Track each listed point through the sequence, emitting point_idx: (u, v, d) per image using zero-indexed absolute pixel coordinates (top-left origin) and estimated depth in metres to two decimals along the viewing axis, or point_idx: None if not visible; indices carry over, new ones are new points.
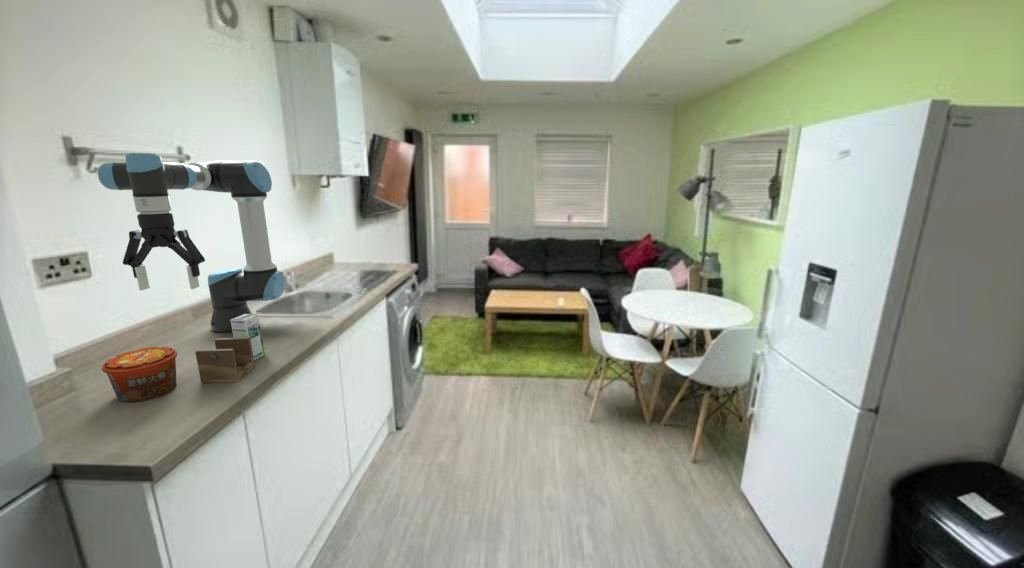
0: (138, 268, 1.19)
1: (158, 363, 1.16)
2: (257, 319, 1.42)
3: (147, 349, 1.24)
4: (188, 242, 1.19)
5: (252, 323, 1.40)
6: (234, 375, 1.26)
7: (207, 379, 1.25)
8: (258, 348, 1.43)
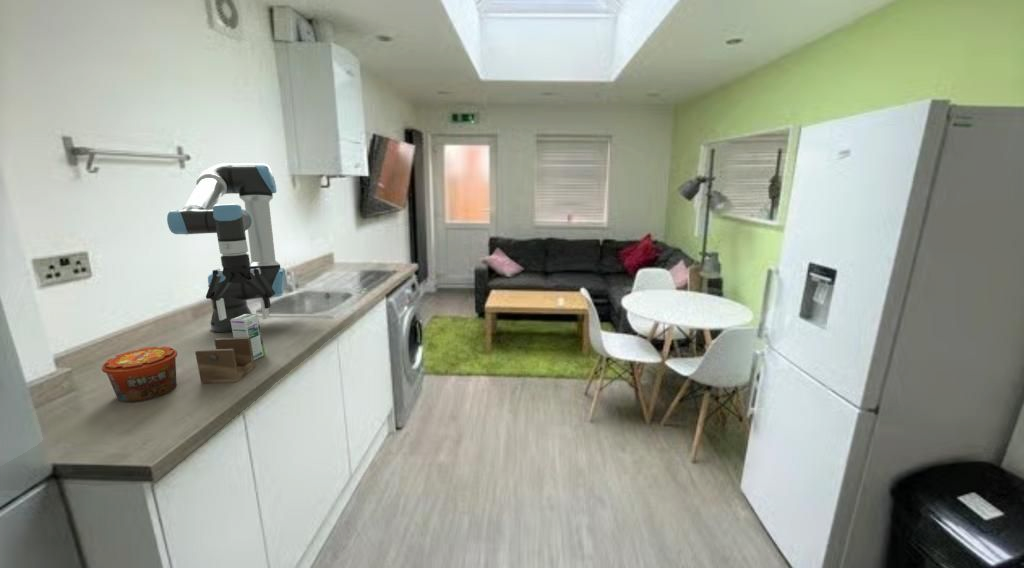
0: (219, 301, 1.37)
1: (158, 363, 1.16)
2: (257, 319, 1.42)
3: (147, 349, 1.24)
4: (262, 279, 1.37)
5: (252, 323, 1.40)
6: (234, 375, 1.26)
7: (207, 379, 1.25)
8: (258, 348, 1.43)
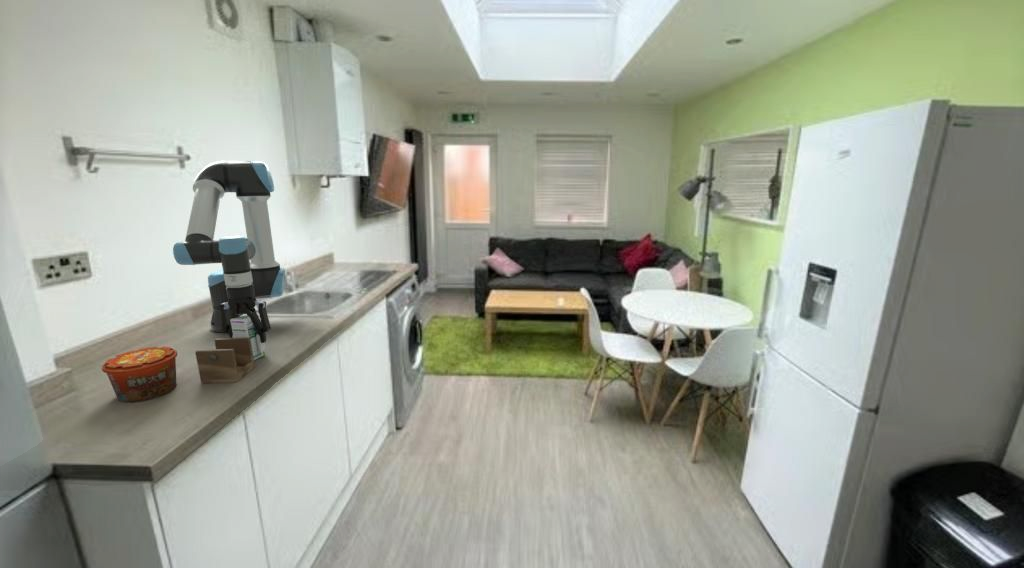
0: None
1: (158, 363, 1.16)
2: None
3: (147, 349, 1.24)
4: (264, 313, 1.40)
5: (252, 323, 1.40)
6: (234, 375, 1.26)
7: (207, 379, 1.25)
8: None
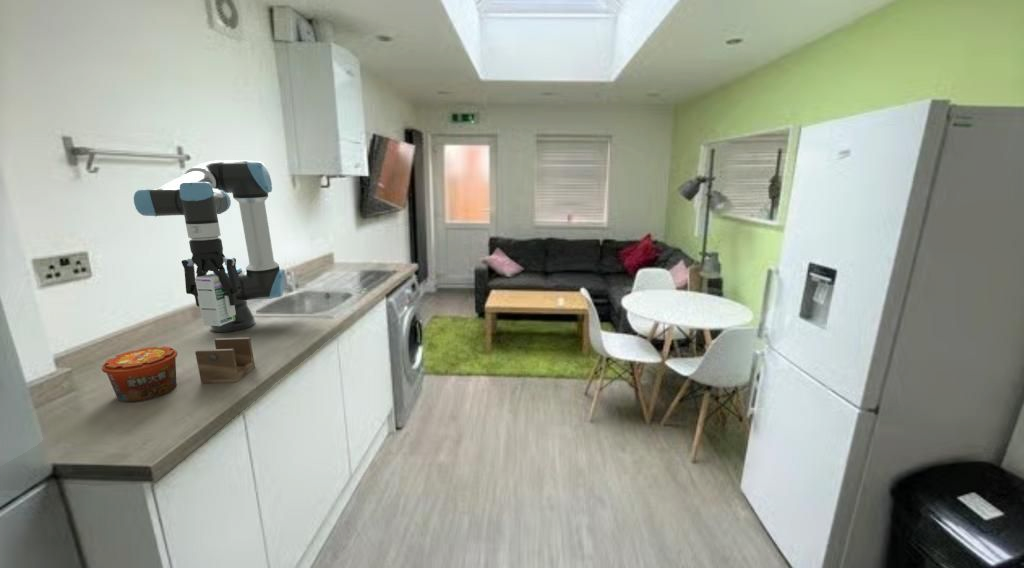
0: None
1: (158, 363, 1.16)
2: None
3: (147, 349, 1.24)
4: (233, 272, 1.23)
5: (220, 283, 1.24)
6: (234, 375, 1.26)
7: (207, 379, 1.25)
8: None
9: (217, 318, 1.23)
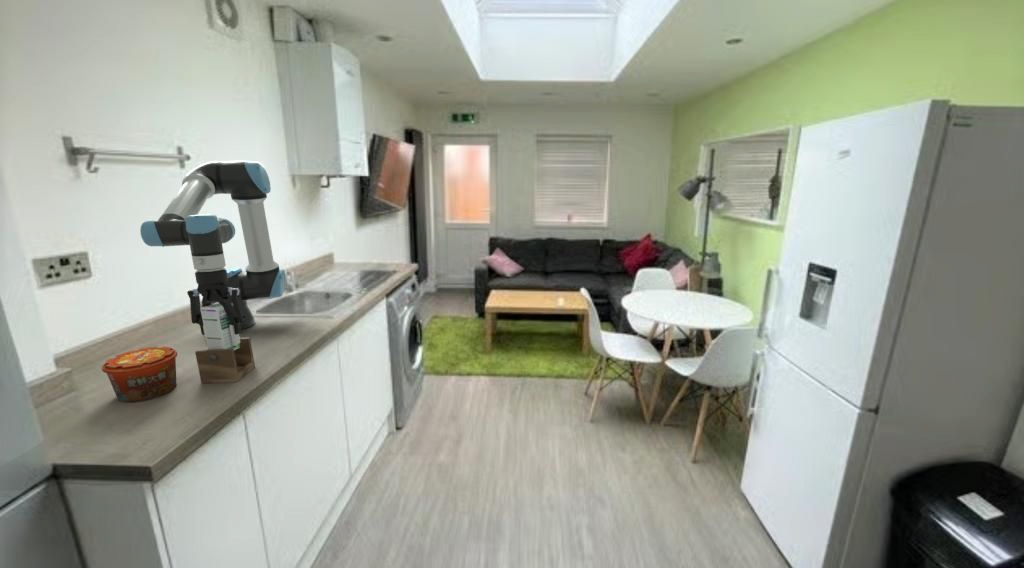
0: None
1: (158, 363, 1.16)
2: None
3: (147, 349, 1.24)
4: (238, 301, 1.25)
5: (225, 312, 1.26)
6: (234, 375, 1.26)
7: (207, 379, 1.25)
8: None
9: (222, 347, 1.25)
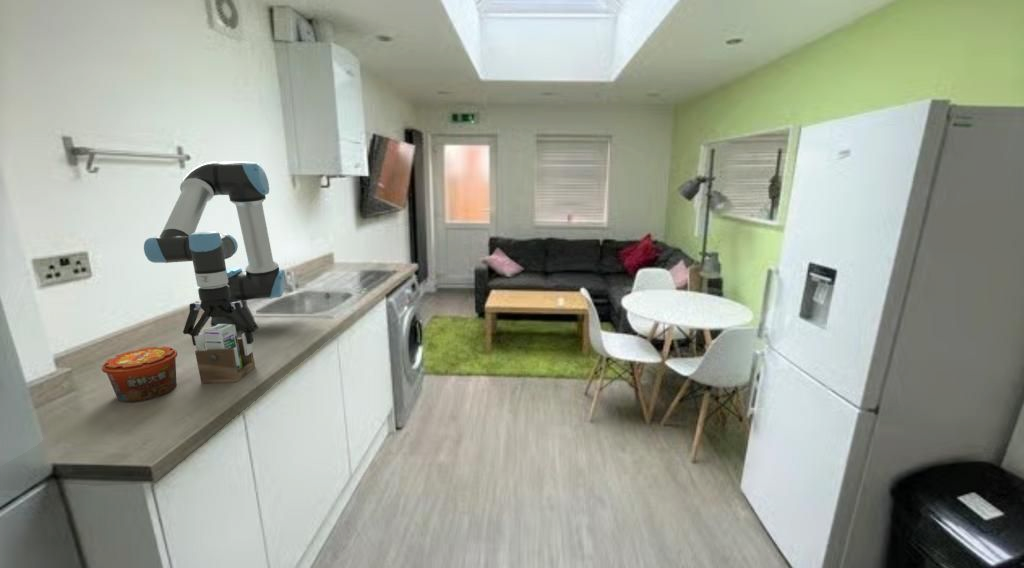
0: (197, 337, 1.27)
1: (158, 363, 1.16)
2: (234, 329, 1.29)
3: (147, 349, 1.24)
4: (244, 313, 1.26)
5: (228, 334, 1.27)
6: (234, 375, 1.26)
7: (207, 379, 1.25)
8: None
9: None
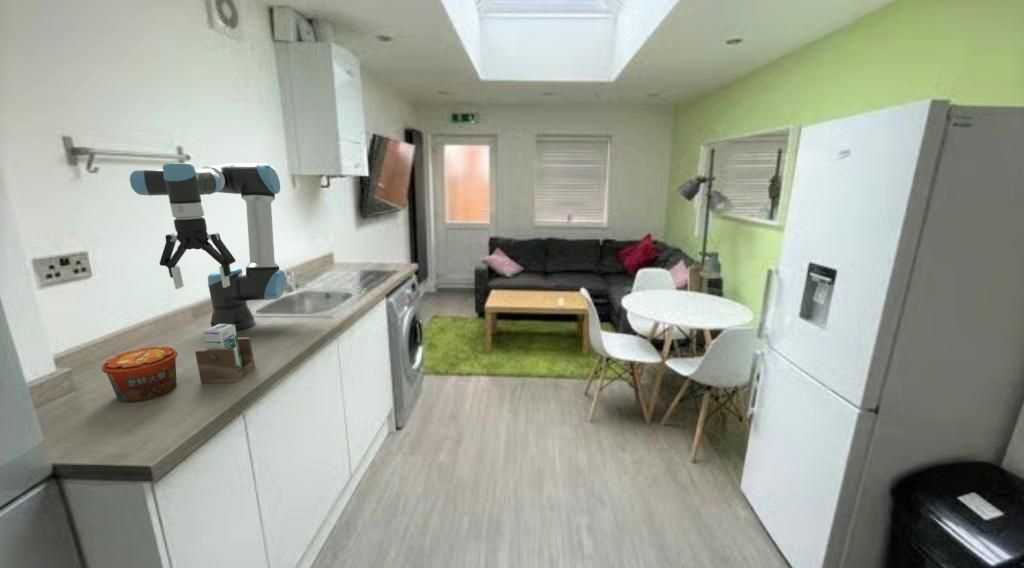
0: (174, 268, 1.29)
1: (158, 363, 1.16)
2: (234, 329, 1.29)
3: (147, 349, 1.24)
4: (221, 245, 1.29)
5: (228, 334, 1.27)
6: (234, 375, 1.26)
7: (207, 379, 1.25)
8: None
9: None
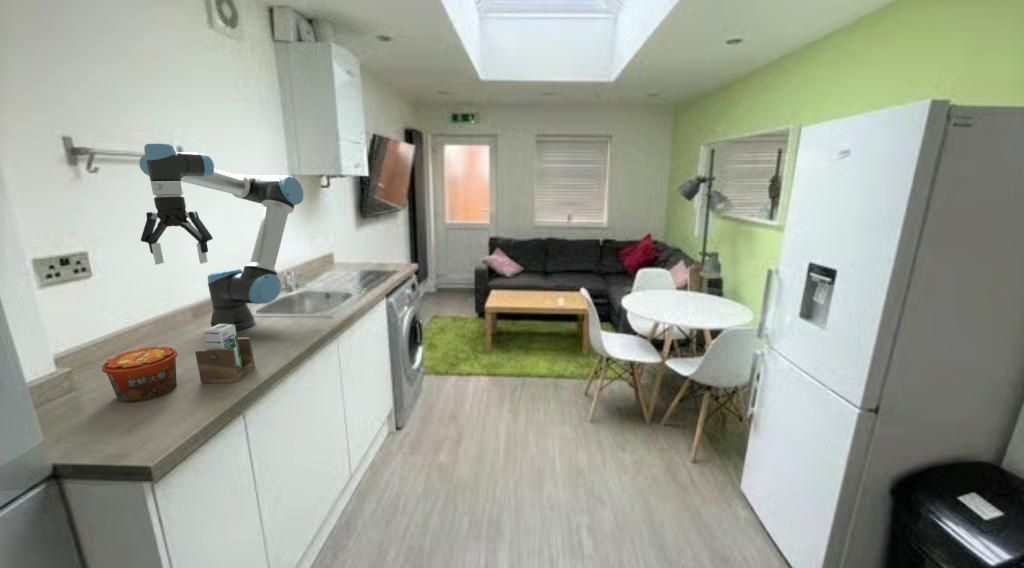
0: (154, 245, 1.36)
1: (158, 363, 1.16)
2: (234, 329, 1.29)
3: (147, 349, 1.24)
4: (198, 222, 1.36)
5: (228, 334, 1.27)
6: (234, 375, 1.26)
7: (207, 379, 1.25)
8: None
9: None
